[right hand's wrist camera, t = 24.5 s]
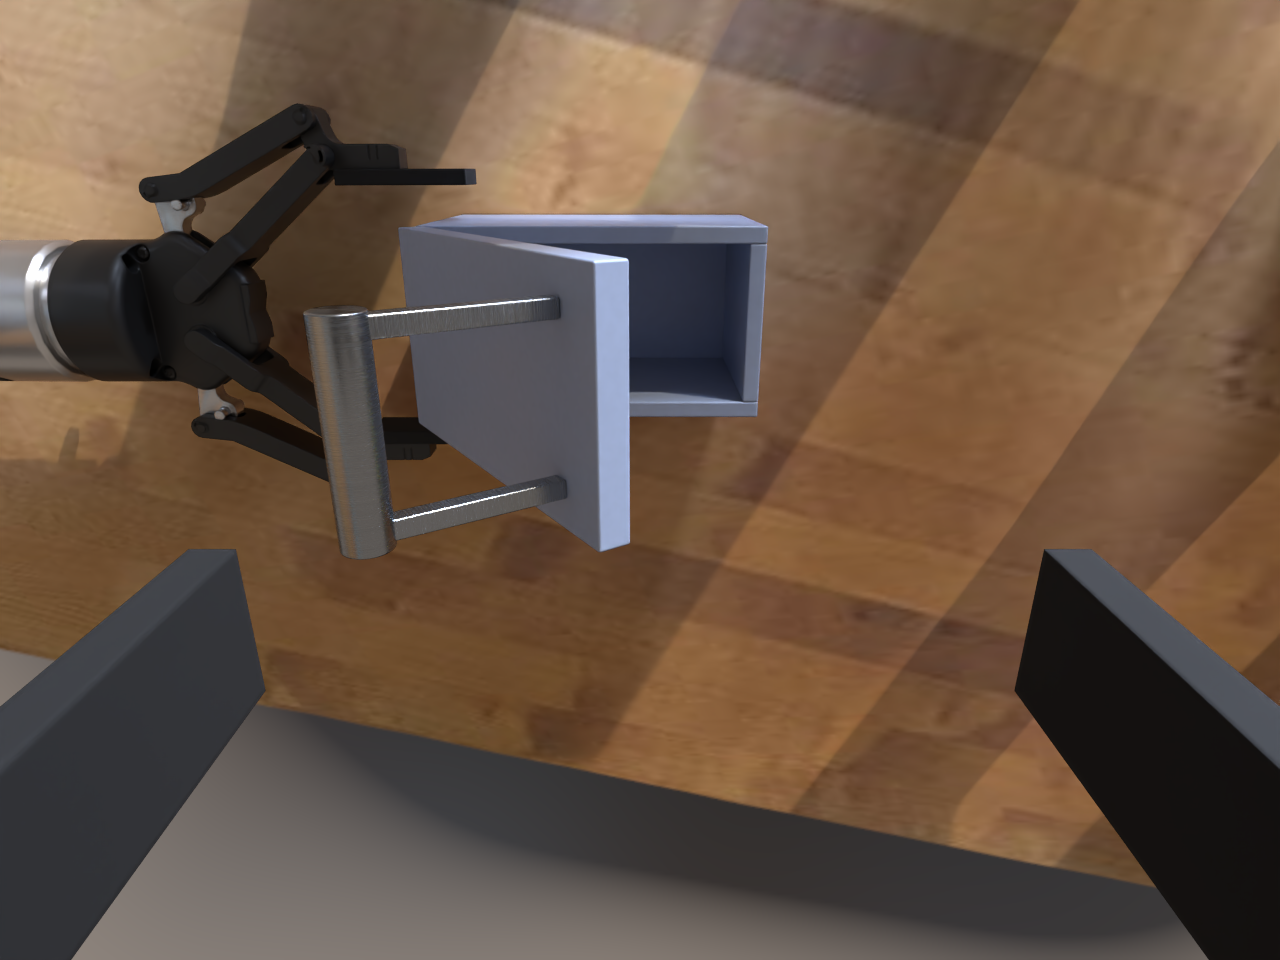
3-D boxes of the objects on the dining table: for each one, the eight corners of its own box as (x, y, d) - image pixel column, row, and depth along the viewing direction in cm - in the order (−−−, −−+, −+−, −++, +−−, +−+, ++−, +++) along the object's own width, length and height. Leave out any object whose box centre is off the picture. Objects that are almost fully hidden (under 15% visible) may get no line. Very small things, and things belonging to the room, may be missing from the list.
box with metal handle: (630, 258, 23) (318, 279, 18) (631, 544, 26) (368, 622, 22) (424, 226, 36) (214, 233, 32) (442, 419, 40) (255, 451, 35)
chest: (740, 214, 47) (768, 225, 37) (733, 367, 50) (757, 417, 40) (463, 213, 47) (414, 225, 37) (475, 367, 50) (433, 417, 40)
